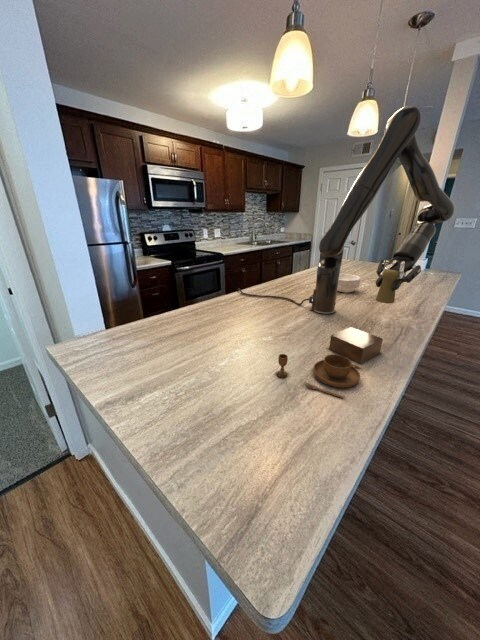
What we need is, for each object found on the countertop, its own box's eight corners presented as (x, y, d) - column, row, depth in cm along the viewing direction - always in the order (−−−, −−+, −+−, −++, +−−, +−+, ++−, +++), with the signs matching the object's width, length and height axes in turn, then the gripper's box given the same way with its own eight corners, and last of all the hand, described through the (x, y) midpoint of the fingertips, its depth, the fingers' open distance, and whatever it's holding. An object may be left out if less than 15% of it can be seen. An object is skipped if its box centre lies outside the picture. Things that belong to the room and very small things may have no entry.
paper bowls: (355, 295, 139) (357, 281, 136) (326, 291, 146) (328, 277, 143) (360, 289, 150) (363, 275, 147) (333, 285, 158) (335, 272, 155)
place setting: (352, 403, 61) (356, 382, 59) (274, 376, 71) (275, 358, 69) (363, 367, 75) (367, 349, 73) (297, 349, 85) (298, 333, 82)
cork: (393, 299, 95) (401, 269, 91) (395, 304, 90) (402, 272, 86) (375, 297, 97) (381, 267, 93) (375, 302, 92) (382, 271, 88)
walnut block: (329, 349, 85) (330, 335, 83) (348, 340, 91) (351, 326, 89) (360, 363, 77) (363, 348, 75) (379, 352, 83) (383, 338, 81)
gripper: (388, 240, 95) (362, 277, 94) (432, 244, 84) (404, 286, 83) (392, 253, 100) (368, 289, 98) (435, 259, 89) (408, 299, 87)
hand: (385, 287), depth 91 cm, fingers closed on cork, 5 cm apart
